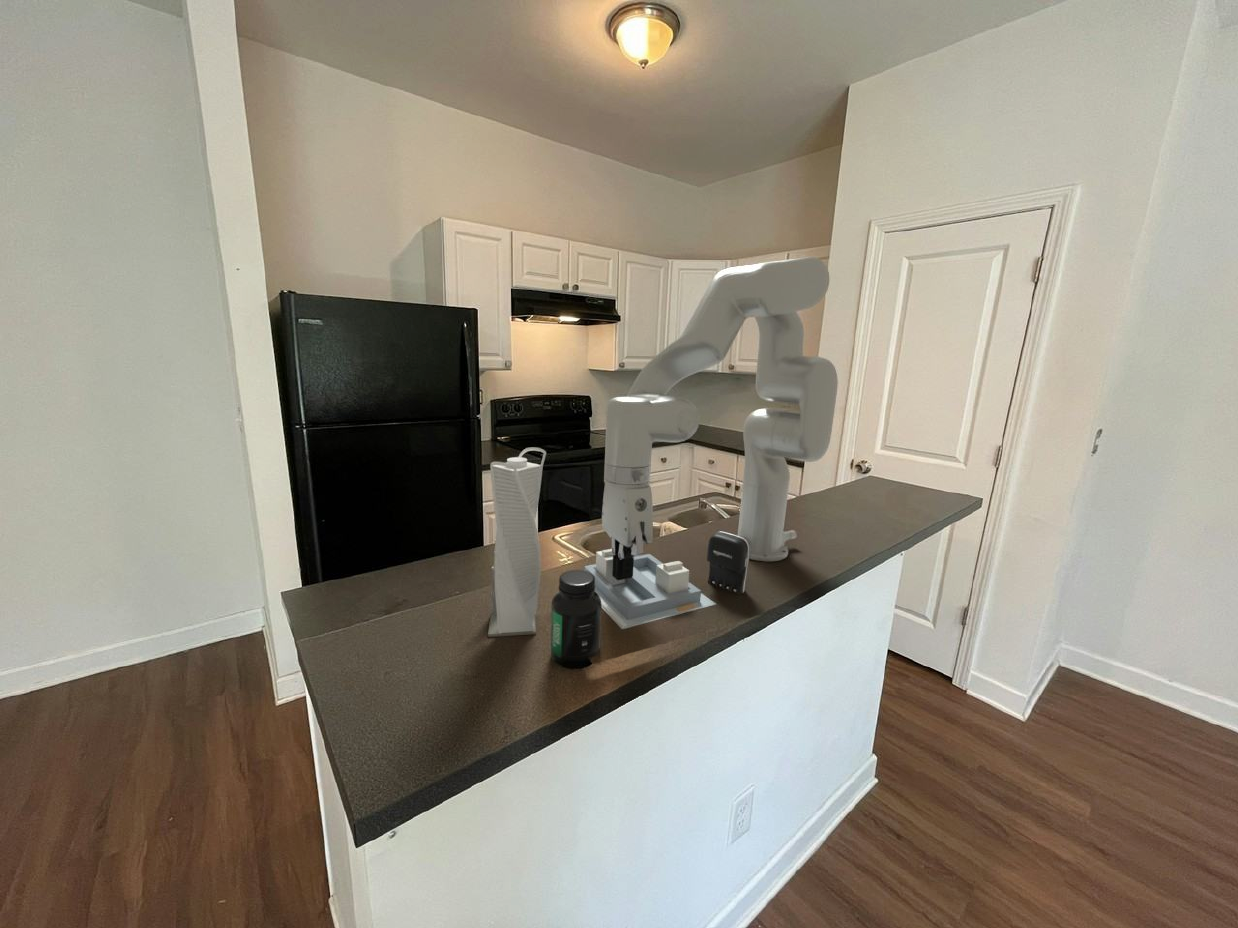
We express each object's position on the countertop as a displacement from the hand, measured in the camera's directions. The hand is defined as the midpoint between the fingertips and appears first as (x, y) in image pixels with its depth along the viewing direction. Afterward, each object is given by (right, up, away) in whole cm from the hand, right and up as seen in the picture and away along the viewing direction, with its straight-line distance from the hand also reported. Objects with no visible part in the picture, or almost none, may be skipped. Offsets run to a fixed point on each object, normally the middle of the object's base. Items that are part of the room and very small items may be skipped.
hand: (622, 576), depth 83 cm
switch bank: (+3, -4, +2) cm, 6 cm away
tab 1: (-2, -2, +4) cm, 5 cm away
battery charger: (+18, -4, +4) cm, 19 cm away
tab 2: (+8, -3, 0) cm, 9 cm away
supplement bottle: (-7, -8, -15) cm, 18 cm away
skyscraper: (-16, -6, -8) cm, 19 cm away
